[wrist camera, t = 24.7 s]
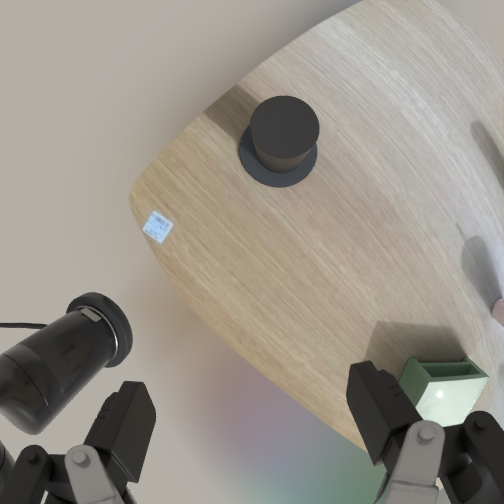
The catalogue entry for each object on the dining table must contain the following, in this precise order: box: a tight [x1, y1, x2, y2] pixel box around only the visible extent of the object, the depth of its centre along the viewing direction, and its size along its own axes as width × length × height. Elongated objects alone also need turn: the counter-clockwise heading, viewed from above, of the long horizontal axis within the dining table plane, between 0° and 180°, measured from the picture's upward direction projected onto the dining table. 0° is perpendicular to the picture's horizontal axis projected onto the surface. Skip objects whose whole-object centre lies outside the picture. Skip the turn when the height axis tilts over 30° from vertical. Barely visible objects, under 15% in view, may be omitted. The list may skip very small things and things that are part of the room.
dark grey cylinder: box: [250, 96, 319, 174], centre depth 25 cm, size 6×6×10 cm
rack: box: [398, 358, 489, 427], centre depth 31 cm, size 14×10×7 cm
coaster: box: [240, 125, 317, 187], centre depth 30 cm, size 9×9×1 cm
